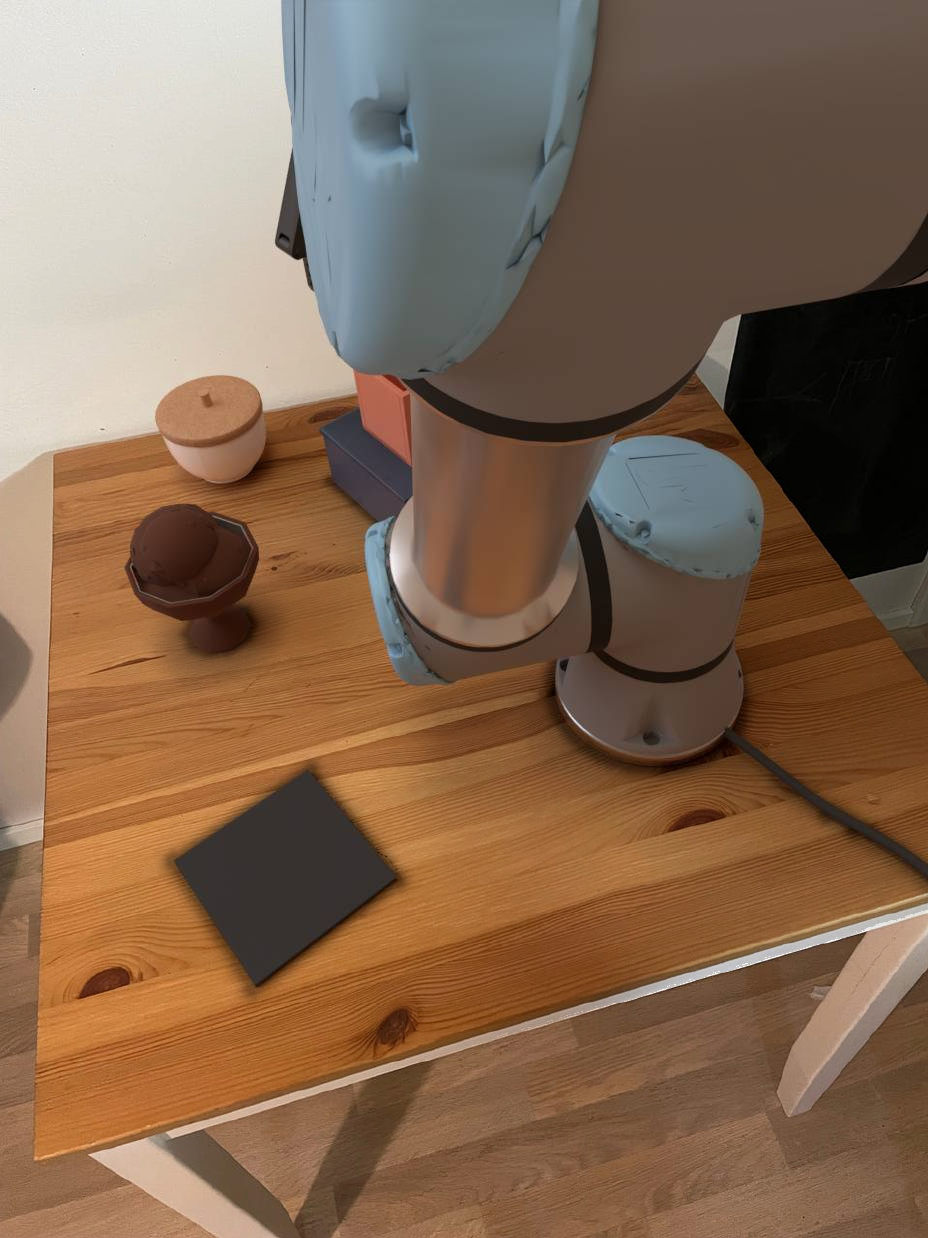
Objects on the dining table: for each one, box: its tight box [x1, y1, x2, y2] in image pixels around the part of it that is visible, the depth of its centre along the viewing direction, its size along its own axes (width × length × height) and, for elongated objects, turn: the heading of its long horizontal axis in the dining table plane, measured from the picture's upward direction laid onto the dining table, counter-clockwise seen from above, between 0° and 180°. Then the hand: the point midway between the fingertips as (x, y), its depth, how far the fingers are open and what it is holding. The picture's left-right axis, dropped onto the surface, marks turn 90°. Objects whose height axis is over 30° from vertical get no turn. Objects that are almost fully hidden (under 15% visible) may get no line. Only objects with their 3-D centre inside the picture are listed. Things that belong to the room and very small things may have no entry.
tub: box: [352, 369, 412, 467], centre depth 87 cm, size 8×8×8 cm
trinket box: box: [154, 374, 267, 485], centre depth 96 cm, size 11×11×9 cm
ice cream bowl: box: [123, 503, 260, 654], centre depth 78 cm, size 11×11×15 cm
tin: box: [318, 405, 413, 523], centre depth 93 cm, size 14×14×7 cm
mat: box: [173, 769, 398, 987], centre depth 68 cm, size 12×12×1 cm
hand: (401, 293), depth 79 cm, fingers open, 13 cm apart
